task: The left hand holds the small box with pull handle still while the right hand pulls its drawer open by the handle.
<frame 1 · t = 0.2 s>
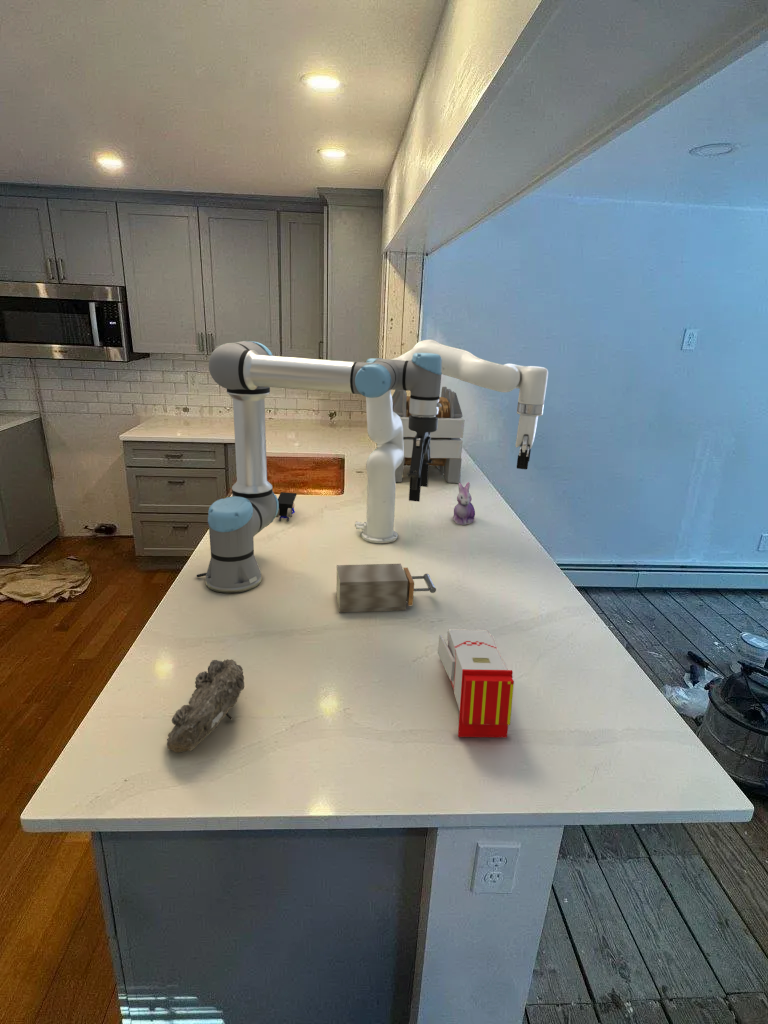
left hand: (418, 493, 154), 28 cm above the counter, tool pointing down, fingers open, 13 cm apart
right hand: (522, 464, 174), 31 cm above the counter, tool pointing down, fingers open, 9 cm apart
figurine character: (285, 517, 211), on the counter
fossil: (212, 717, 108), on the counter
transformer: (419, 473, 275), on the counter
drawer: (391, 586, 152), point 4 cm above the counter, slide at 0.7 cm
toy: (469, 691, 119), on the counter
box with pull handle: (370, 601, 153), on the counter
figurine: (463, 521, 215), on the counter
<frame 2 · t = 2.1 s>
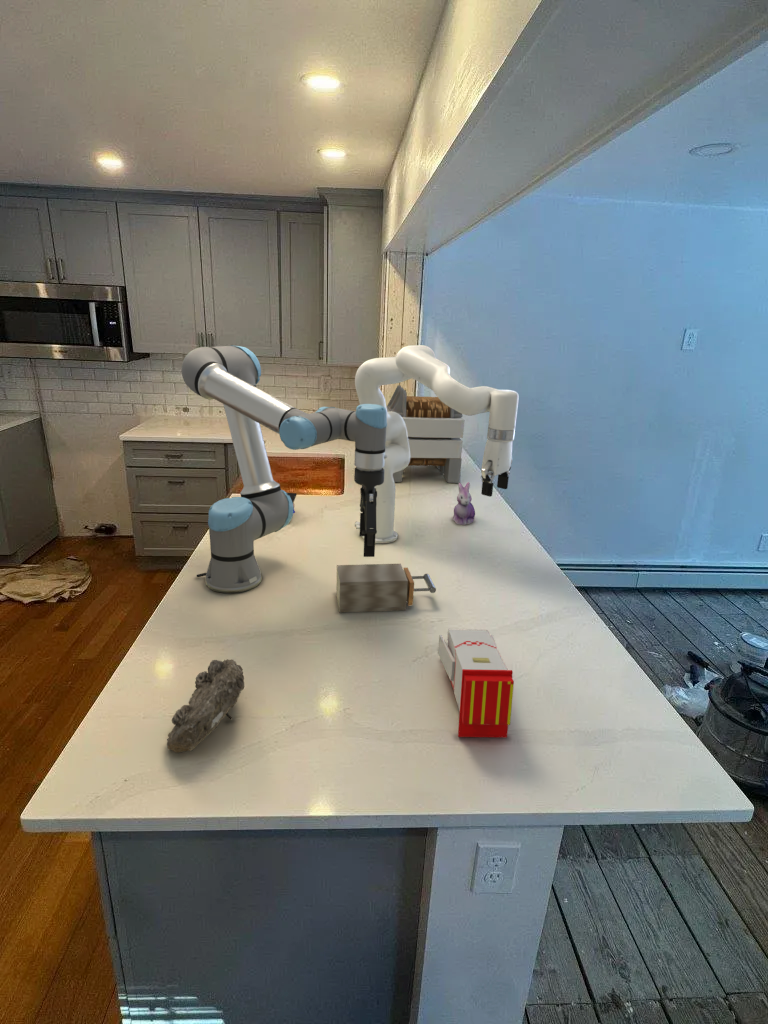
left hand: (366, 545, 149), 16 cm above the counter, tool pointing down, fingers open, 13 cm apart
right hand: (494, 491, 167), 25 cm above the counter, tool pointing down, fingers open, 9 cm apart
nothing on the counter moved.
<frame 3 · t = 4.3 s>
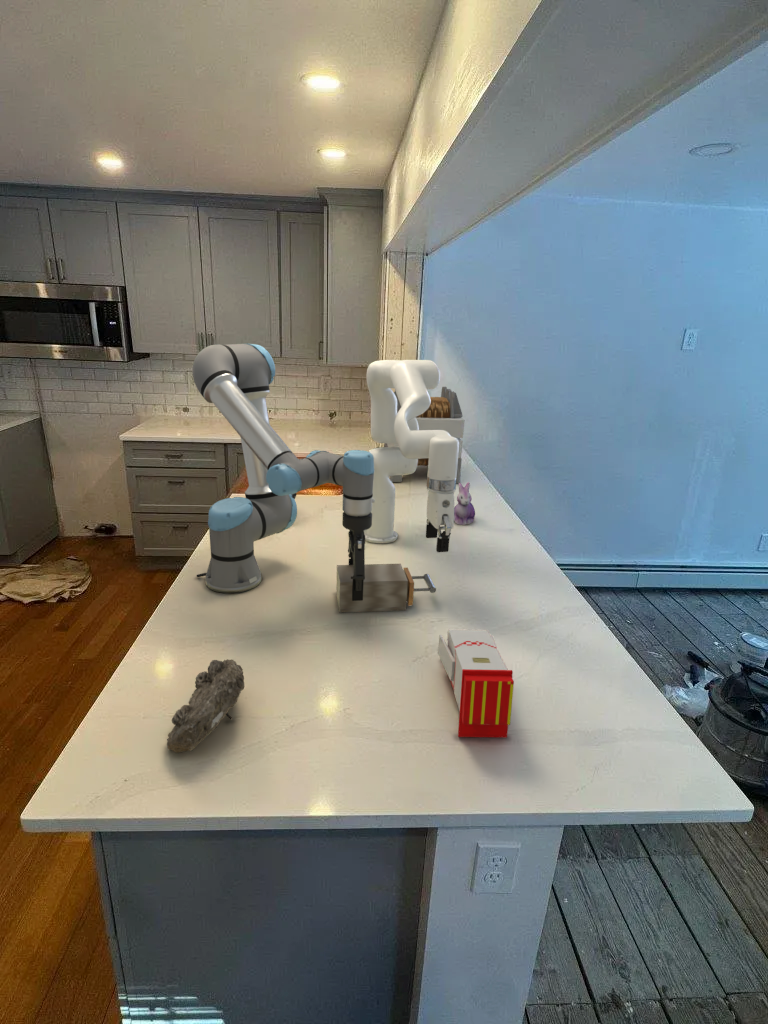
left hand: (355, 589, 151), 4 cm above the counter, tool pointing down, fingers closed on box with pull handle, 10 cm apart
right hand: (436, 544, 153), 15 cm above the counter, tool pointing down, fingers open, 9 cm apart
box with pull handle: (370, 601, 153), on the counter, touching left hand
everything else where it was.
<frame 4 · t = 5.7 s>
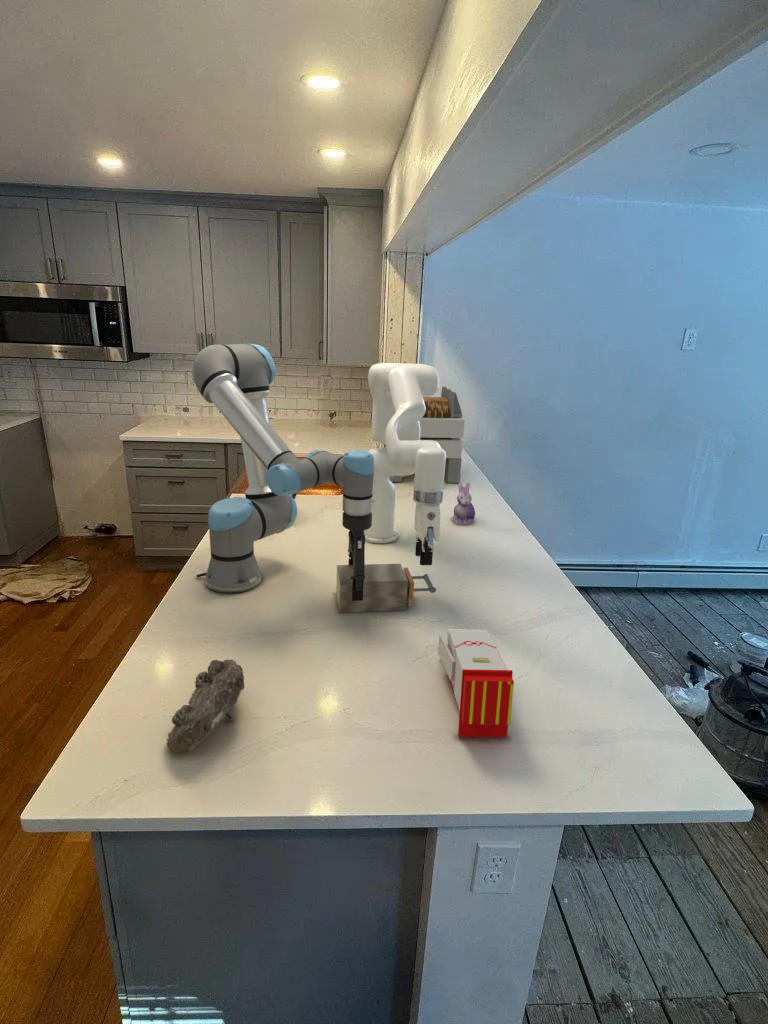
left hand: (355, 589, 151), 4 cm above the counter, tool pointing down, fingers closed on box with pull handle, 10 cm apart
right hand: (423, 559, 151), 12 cm above the counter, tool pointing down, fingers open, 5 cm apart
box with pull handle: (370, 601, 153), on the counter, touching left hand
everything else where it was.
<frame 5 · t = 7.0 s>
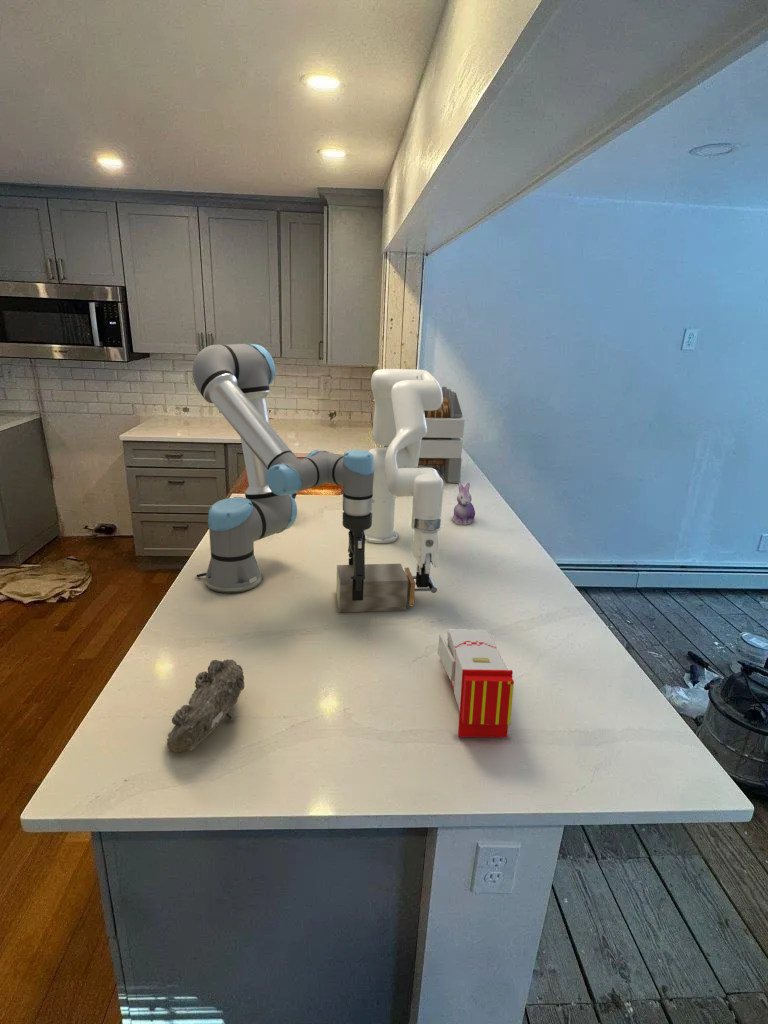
left hand: (355, 589, 151), 4 cm above the counter, tool pointing down, fingers closed on box with pull handle, 10 cm apart
right hand: (421, 586, 153), 5 cm above the counter, tool pointing down, fingers closed
box with pull handle: (370, 601, 153), on the counter, touching left hand
everything else where it was.
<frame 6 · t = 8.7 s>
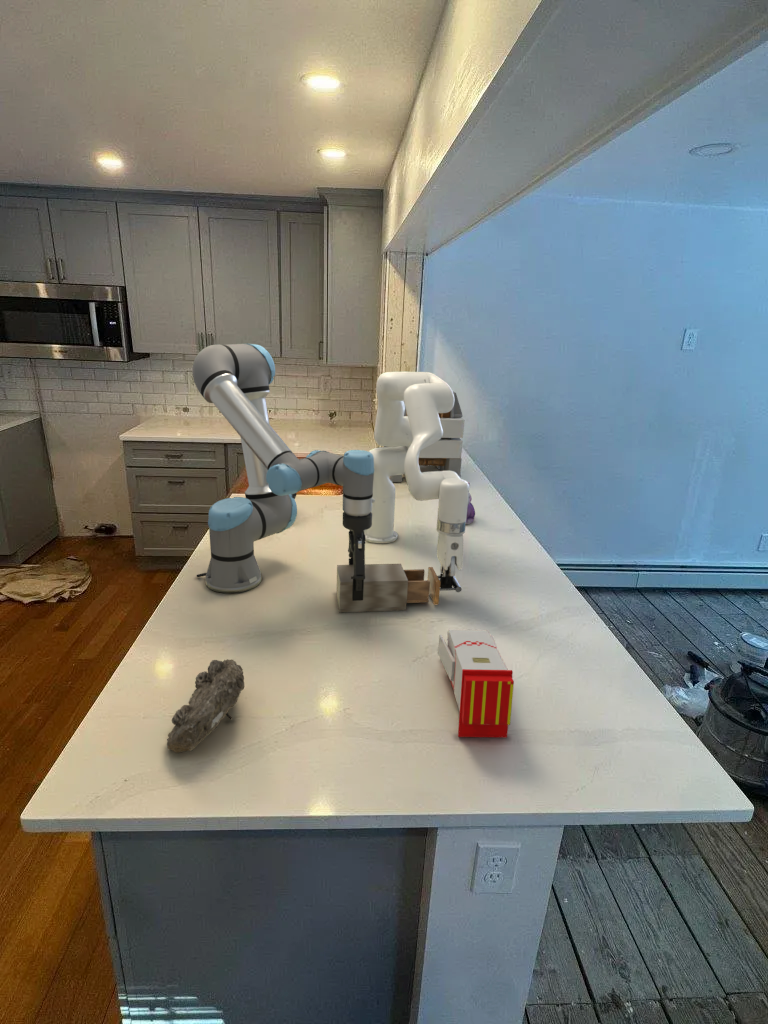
left hand: (355, 589, 151), 4 cm above the counter, tool pointing down, fingers closed on box with pull handle, 10 cm apart
right hand: (445, 587, 155), 4 cm above the counter, tool pointing down, fingers closed
drawer: (417, 585, 154), point 4 cm above the counter, slide at 7.7 cm, touching right hand
box with pull handle: (370, 601, 153), on the counter, touching left hand
everything else where it was.
when the left hand's fingers open (4 cm above the counter, at t = 10.4 s): box with pull handle stays where it is, on the counter.
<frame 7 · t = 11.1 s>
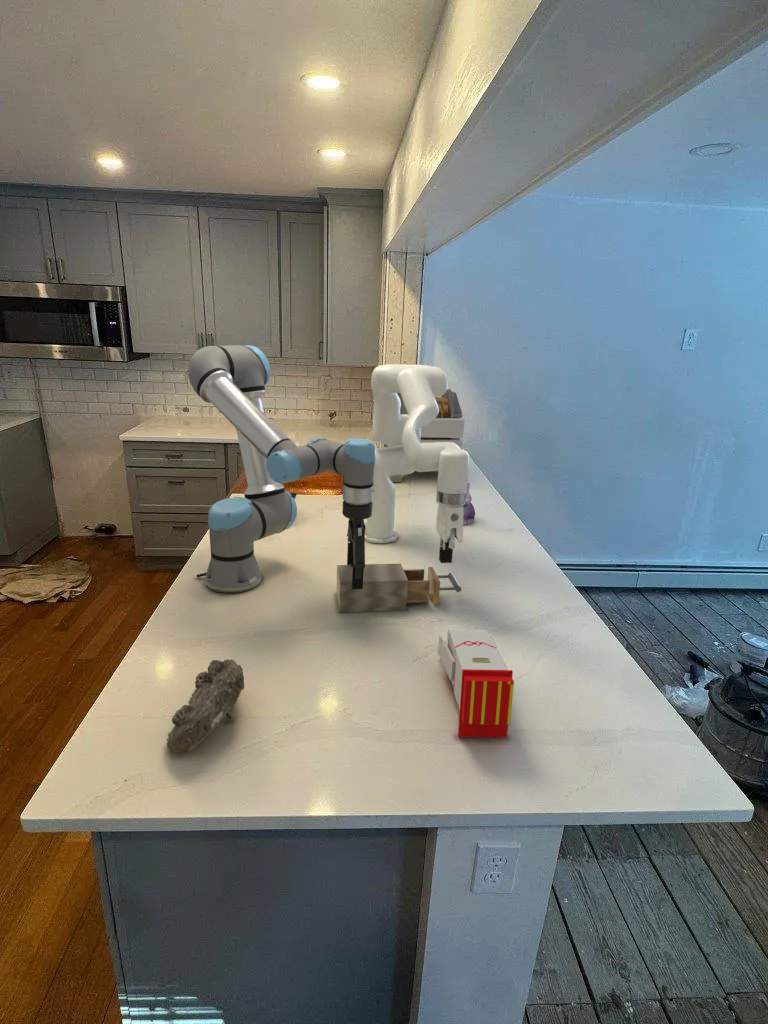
left hand: (354, 576, 150), 8 cm above the counter, tool pointing down, fingers open, 13 cm apart
right hand: (445, 561, 152), 11 cm above the counter, tool pointing down, fingers closed
drawer: (417, 585, 154), point 4 cm above the counter, slide at 7.7 cm
box with pull handle: (370, 601, 153), on the counter
everything else where it was.
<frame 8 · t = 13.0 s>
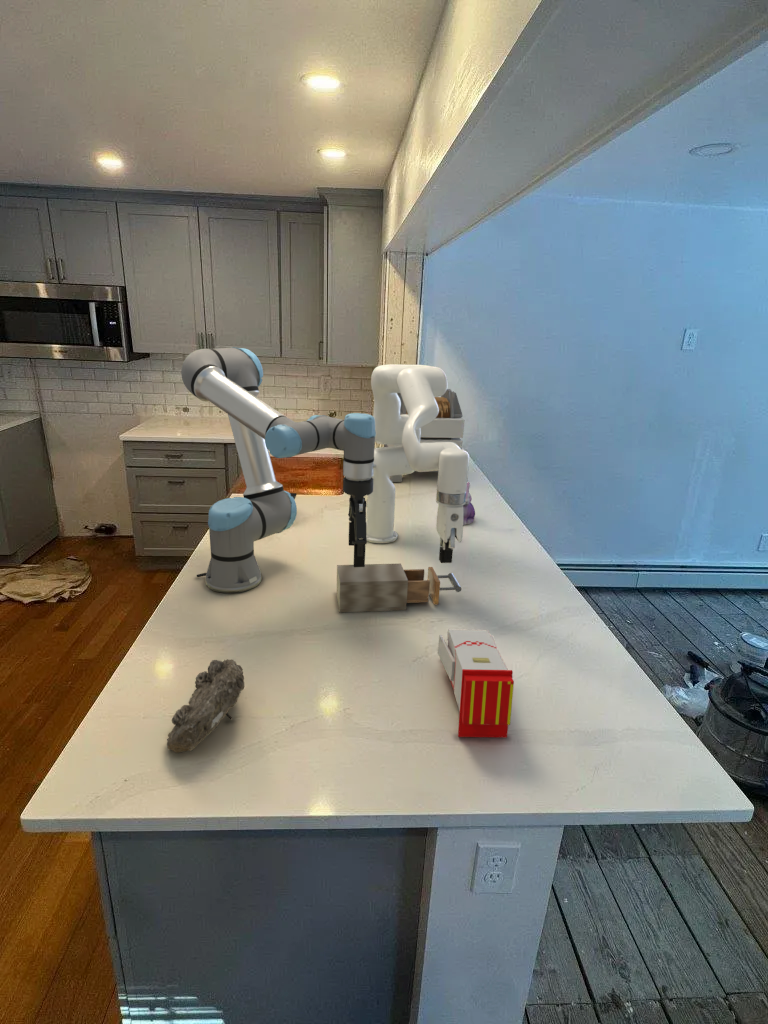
left hand: (356, 555, 148), 14 cm above the counter, tool pointing down, fingers open, 13 cm apart
right hand: (445, 561, 152), 11 cm above the counter, tool pointing down, fingers closed
nothing on the counter moved.
at the end: drawer slide at 7.7 cm; box with pull handle tilted 0°; box with pull handle never tilted more than 1° during the clip; box with pull handle moved 0.1 cm from its start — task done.
